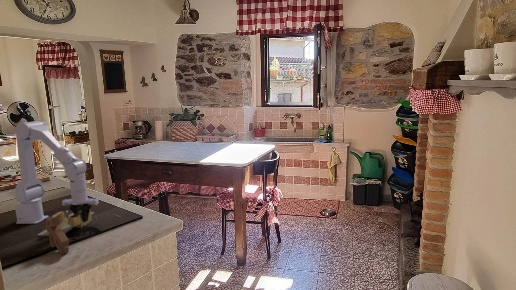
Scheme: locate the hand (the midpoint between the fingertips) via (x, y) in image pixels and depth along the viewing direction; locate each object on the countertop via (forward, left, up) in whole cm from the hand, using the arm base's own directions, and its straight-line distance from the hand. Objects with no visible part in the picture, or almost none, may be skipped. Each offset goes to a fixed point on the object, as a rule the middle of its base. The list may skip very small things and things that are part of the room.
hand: (82, 221), depth 145 cm
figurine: (+4, -22, -2) cm, 22 cm away
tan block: (0, -1, -2) cm, 2 cm away
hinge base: (-8, -3, -1) cm, 8 cm away
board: (-7, +1, -2) cm, 8 cm away
